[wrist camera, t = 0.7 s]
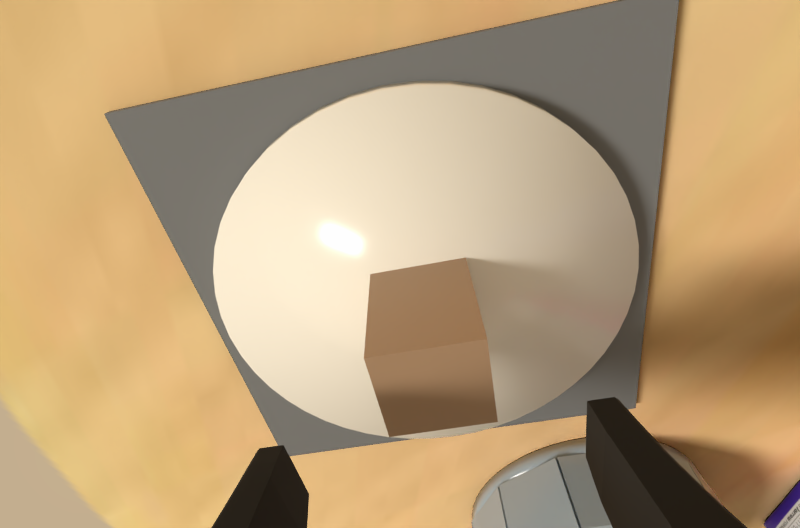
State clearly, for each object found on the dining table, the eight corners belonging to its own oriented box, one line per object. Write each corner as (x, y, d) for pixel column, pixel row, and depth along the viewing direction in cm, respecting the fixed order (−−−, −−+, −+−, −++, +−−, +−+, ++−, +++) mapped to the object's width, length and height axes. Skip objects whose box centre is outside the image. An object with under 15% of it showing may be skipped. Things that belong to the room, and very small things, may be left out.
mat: (674, -12, 12) (680, -12, 12) (632, 402, 20) (635, 407, 20) (109, 111, 13) (104, 113, 13) (285, 451, 22) (284, 456, 21)
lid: (645, 29, 12) (771, 54, 8) (617, 397, 20) (676, 506, 16) (143, 135, 14) (36, 203, 9) (295, 442, 21) (272, 554, 17)
